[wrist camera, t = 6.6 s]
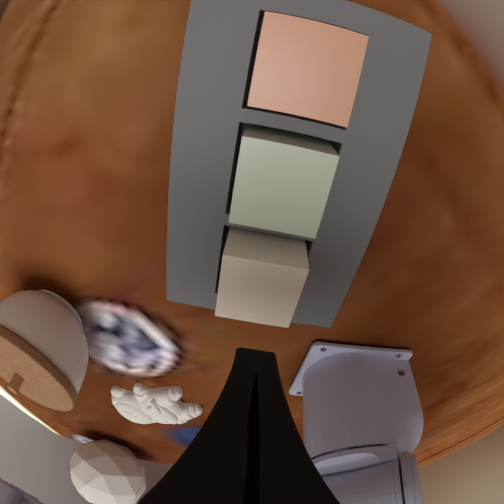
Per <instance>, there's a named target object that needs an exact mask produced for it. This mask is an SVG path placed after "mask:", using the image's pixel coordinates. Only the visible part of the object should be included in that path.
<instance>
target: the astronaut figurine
mask: <svg viewBox="0 0 504 504" xmlns="http://www.w3.org/2000/svg"><path fill="white" fill-rule="evenodd" d="M111 394H112V403H113V405H114V406H115V407H116V409H117V411H118V412H119V413H120V414H121V415H122V416H124V417H125V418H127V419H128V420H130V421H132V422H135V423H140V424H150V423H156V422H159V423H162V424H176V423H178V424H183V423H186V422H187V420H190V419H193V418H194V417H197V416H199V415H200V414H201V413H202V406H201V405H199V404H196V403H185V402H182V401H181V400H180V397H181V396H182V394H183V389H182V388H181V387H178V386H164V387H156V388H148V387H147V386H145V385H144V384H143V383H141V382H136V383H135V385H134V388H133V391H130V390H125V389H124V388H121V387H117V386H114V387H112V389H111Z"/></svg>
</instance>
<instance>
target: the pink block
mask: <svg viewBox="0 0 504 504" xmlns="http://www.w3.org/2000/svg"><path fill="white" fill-rule="evenodd" d="M368 38H369V36H366V35H363V34H360V33H357V32H354V31H351V30H347V29H344V28H340V27H337V26H333V25H329V24H326V23H322V22H318V21H313V20H309V19H305V18H300V17H295V16H290V15H285V14H279V13H273V12H267V11H265V14H264V19H263V24H262V29H261V34H260V39H259V44H258V49H257V55H256V60H255V65H254V71H253V76H252V82H251V87H250V93H249V99H248V104H247V106H251V107H256V108H262V109H268V110H273V111H278V112H283V113H288V114H293V115H298V116H302V117H307V118H311V119H315V120H319V121H324V122H328V123H331V124H335V125H339V126H343V127H348V123H349V119H350V115H351V111H352V107H353V103H354V99H355V95H356V91H357V87H358V83H359V79H360V74H361V70H362V65H363V61H364V56H365V52H366V47H367V43H368Z"/></svg>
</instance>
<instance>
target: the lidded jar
mask: <svg viewBox="0 0 504 504" xmlns="http://www.w3.org/2000/svg"><path fill="white" fill-rule="evenodd" d="M87 364H88V343H87V339H86V335H85V332H84V330H83V322H82V320H81V317H80V316H79V314H78V312H77V311H76V310H75V309H74V307H73V306H72V305H71V304H70V303H69V302H68V301H66V300H65V299H64V298H63V297H61V296H60V295H58V294H56V293H54V292H52V291H49V290H45V289H40V290H37V291H36V290H24V291H19V292H16V293H14V294H12V295H10V296H8V297H6V298H5V299H4V300H2V301H1V302H0V376H1V377H2V378H3V379H4V380H5V381H6V382H8V383H9V384H8V386H7V387H8V388H9V389H10V390H11V391H12V392H13V393H15V394H17V393H18V391H19V392H21V393H22V394H24V395H25V396H27V397H28V398H30V399H32V400H33V401H35V402H37V403H39V404H41V405H43V406H46V407H48V408H51V409H54V410H59V411H69V410H72V409H73V408H74V406H75V403H76V400H77V395H78V393H79V390H80V388H81V386H82V383H83V380H84V377H85V373H86V369H87Z"/></svg>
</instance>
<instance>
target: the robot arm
mask: <svg viewBox="0 0 504 504" xmlns="http://www.w3.org/2000/svg"><path fill="white" fill-rule="evenodd" d="M412 355H413V354H412V351H411V350H404V349H389V348H377V347H365V346H355V345H345V344H335V343H327V342H314V343H313V344H312V345H311V347H310V349H309V351H308V353H307V355H306V357H305V359H304V361H303V363H302V365H301V367H300V369H299V371H298V373H297V375H296V377H295V379H294V381H293V383H292V385H291V386H290V388H289V394H291V395H298V396H303V432H304V444H303V442H302V439H301V437H300V435H299V433H298V430H297V428H296V425H295V423H294V420H293V418H292V415H291V412H290V409H289V406H288V403H287V400H286V397H285V394H284V391H283V387H282V383H281V379H280V375H279V371H278V366H277V360H276V355H275V354H274V353H273V352H266V351H259V350H253V349H247V348H238V349H237V350H236V354H235V359H234V363H233V366H232V369H231V372H230V374H229V377H228V379H227V382H226V384H225V386H224V388H223V390H222V392H221V395H220V397H219V399H218V400H217V402H216V404H215V406H214V408H213V409H212V411H211V413H210V415H209V416H208V418H207V420H206V421H205V423H204V425H203V426H202V428H201V429H200V431H199V432H198V434H197V435H196V437H195V438H194V439H193V441H192V442H191V444H190V445H189V446H188V448H187V449H186V450H185V452H184V453H183V454H182V455H181V457H180V458H179V459H178V460H177V462H176V463H175V464H174V465H173V466H172V468H171V469H170V470H169V471H168V472H167V473H166V474H165V475H164V477H163V478H162V479H161V480H160V481H159V482H158V483H157V484H156V485H155V486H154V487H153V488H152V489H151V490H150V491H149V492H148V493H147V494H146V495H145V496H144V497H143V498H142V499H141V500H140V501H139V503H138V504H423V501H422V493H421V485H420V478H419V472H418V466H417V460H416V456H415V455H414V454H412V453H411V452H412V451H413V450H414V449H415V448H416V446H417V445H418V443H419V441H420V439H421V435H422V431H423V412H422V407H421V403H420V399H419V396H418V392H417V388H416V385H415V381H414V378H413V374H412V371H411V367H410V364H409V359H410V358H411V357H412ZM0 504H44V503H42V502H40V501H39V500H38V499H37V498H35V497H33V496H31V495H29V494H28V493H26V492H24V491H23V490H21V489H19V488H18V487H16V486H14V485H12V484H10V483H8V482H6V481H4V480H2V479H1V478H0Z"/></svg>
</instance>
